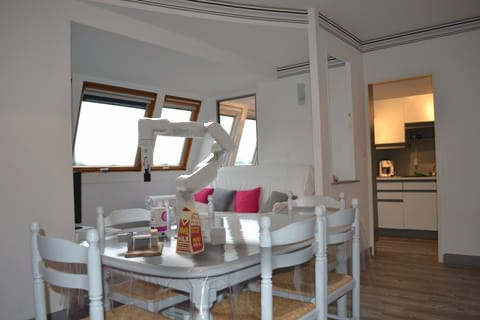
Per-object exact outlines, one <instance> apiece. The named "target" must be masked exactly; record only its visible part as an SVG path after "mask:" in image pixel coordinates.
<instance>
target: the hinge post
mask: <svg viewBox="0 0 480 320" xmlns="http://www.w3.org/2000/svg"><path fill="white" fill-rule="evenodd" d="M126 234H127V242H126V243H127V246H126V247H127V248H126V249H127V250H132V248H133V244H134V239H132V236H134V231H128V233H126Z"/></svg>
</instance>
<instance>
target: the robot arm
mask: <svg viewBox="0 0 480 320" xmlns="http://www.w3.org/2000/svg"><path fill="white" fill-rule="evenodd" d="M137 130H138V131H137V136H138V137H137V140H138V141H137V142H138V143H137V144H138V147H139V148H140V153H141V156H140V157H141V158H140V161H141V166H142V167H143V182H144V183H150V182H152V174H151V168H153V167H154V152H153V151H154V150H153V149H154V147H155V136H162V137H177V138H191V139H201V140H211V139H213V142H212V144H211V147H210V155H209V156H208V157H207V158H206V159H205V160H203V161H202V162H200V163H198V164H197V165H195V166H194V167H193V168H192V170H191V174H182V175H180V176H178V177H177V178H176V179H175V181H174V184H173V188H174V194H175V209H176V211H175V213H176V218H175V219H176V234H174V235H173V238H174V239H176V240H177V236H178V229H179V223H180V218H181V212H182V210H183V209H184V208H185V204H187V205H189V206H195V207H196V200H195V194H199V193H200V192H201V191H203V190H204V189H205V188H207V187H209V186H210V184H212V183H213V182H214V181H216V178H218V172H219V170H220V169H221V168H222V166H223V165H224V161H225V155H230V154H232V153H234V152H235V150H236V142H235V140H234V139H233V138H232V136H231V135H230V134H229V132H228V131H227V130H226V129H225V128H224V126H222V125H221V123H219V122H216V121H210V122H201V121H200V122H198V121H190V120H182V121H181V120H180V121H175V122H174V121H173V122H172V121H170V120H169V119H167V118H164V117H160V118H150V117H143V118H138V120H137ZM205 230H206V229H205V228H202V233H203V234H205V232H206V231H205Z"/></svg>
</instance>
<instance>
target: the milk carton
mask: <svg viewBox="0 0 480 320" xmlns="http://www.w3.org/2000/svg"><path fill="white" fill-rule="evenodd" d="M202 229H203V228H202V221H201V217H200V212H199V211H198V210H197V208H196V205H195V206H189V205H187V204H185V208H184V209H183V210H182V212H181V218H180V223H179V229H178V236H177V239H176V245H175V253H177V254H184V255H191V256H193V255H197V254H199V253H201V252H204V251H205V245H204V244H205V241H204V235H203V234H204V233H202Z"/></svg>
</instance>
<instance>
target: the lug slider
mask: <svg viewBox="0 0 480 320" xmlns="http://www.w3.org/2000/svg"><path fill="white" fill-rule="evenodd" d="M156 234H157V237H156V238H150V243H151V246H158V242H159V240H158V239H159V238H158V231H157V229H153V230H151V229H150V231H149V235H156Z"/></svg>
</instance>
